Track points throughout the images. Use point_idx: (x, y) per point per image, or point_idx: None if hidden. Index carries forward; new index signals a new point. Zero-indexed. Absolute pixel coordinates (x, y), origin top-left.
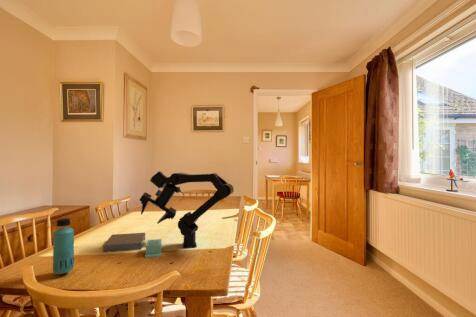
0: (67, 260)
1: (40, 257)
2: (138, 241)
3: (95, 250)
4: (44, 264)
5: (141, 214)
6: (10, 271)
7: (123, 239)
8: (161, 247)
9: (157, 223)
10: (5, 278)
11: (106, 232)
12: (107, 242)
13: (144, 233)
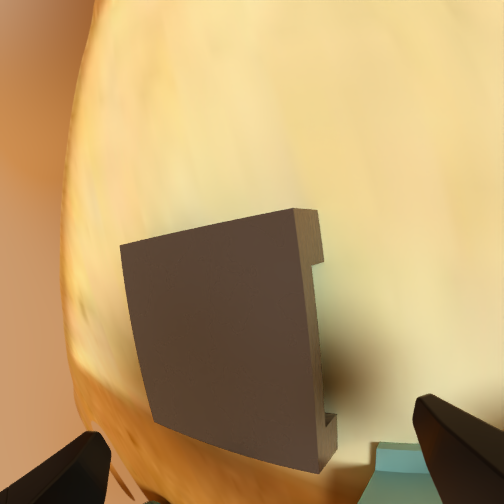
0: None
1: (79, 372)
2: (295, 446)
3: None
4: (108, 429)
5: (110, 457)
6: None
7: (195, 369)
8: None
9: (419, 425)
10: None
11: (106, 114)
12: (150, 389)
13: (293, 239)
